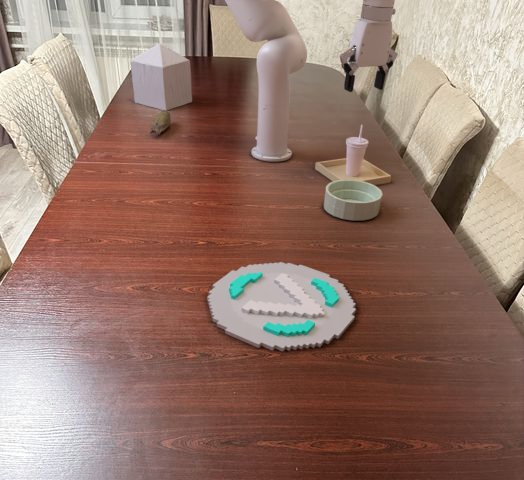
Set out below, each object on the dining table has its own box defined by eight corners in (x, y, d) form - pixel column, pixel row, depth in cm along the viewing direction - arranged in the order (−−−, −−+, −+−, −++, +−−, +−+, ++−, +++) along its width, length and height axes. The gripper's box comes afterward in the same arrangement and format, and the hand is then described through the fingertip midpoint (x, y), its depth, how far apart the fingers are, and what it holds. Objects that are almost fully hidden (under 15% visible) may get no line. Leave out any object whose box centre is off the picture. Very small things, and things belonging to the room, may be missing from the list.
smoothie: (362, 179, 151) (371, 129, 142) (340, 176, 151) (347, 126, 142) (363, 171, 155) (372, 122, 146) (342, 168, 156) (349, 119, 147)
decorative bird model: (175, 122, 184) (174, 107, 181) (162, 140, 169) (160, 124, 166) (161, 121, 185) (159, 106, 181) (146, 139, 169) (145, 123, 166)
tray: (314, 168, 157) (315, 162, 155) (357, 162, 162) (358, 156, 161) (345, 190, 145) (346, 183, 144) (390, 182, 151) (391, 175, 150)
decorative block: (192, 101, 205) (190, 43, 192) (166, 110, 194) (161, 49, 181) (161, 94, 211) (157, 37, 198) (133, 102, 200) (127, 43, 187)
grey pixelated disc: (310, 371, 87) (311, 363, 86) (179, 313, 98) (179, 306, 97) (375, 294, 106) (376, 287, 105) (259, 253, 117) (259, 246, 116)
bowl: (312, 202, 139) (315, 184, 135) (358, 194, 144) (361, 176, 141) (342, 225, 129) (345, 206, 126) (390, 216, 134) (394, 197, 131)
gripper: (395, 11, 133) (381, 83, 145) (338, 11, 127) (328, 87, 138) (413, 16, 128) (397, 91, 140) (355, 17, 122) (343, 95, 133)
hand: (363, 89), depth 139 cm, fingers open, 9 cm apart
